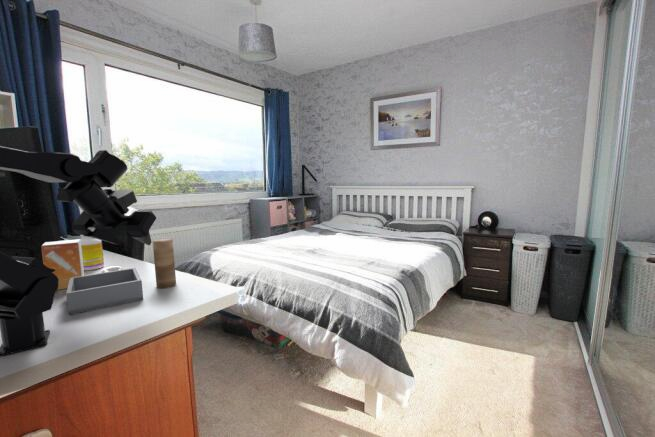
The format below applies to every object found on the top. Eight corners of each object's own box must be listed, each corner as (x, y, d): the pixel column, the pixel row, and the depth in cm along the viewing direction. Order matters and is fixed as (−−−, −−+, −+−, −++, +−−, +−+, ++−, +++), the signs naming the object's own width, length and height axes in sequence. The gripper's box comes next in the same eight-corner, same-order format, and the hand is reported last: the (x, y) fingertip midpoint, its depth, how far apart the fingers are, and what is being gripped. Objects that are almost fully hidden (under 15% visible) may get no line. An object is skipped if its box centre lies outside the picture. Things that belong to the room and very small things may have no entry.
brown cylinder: (177, 285, 90) (174, 240, 88) (158, 289, 87) (154, 243, 85) (174, 281, 94) (170, 238, 92) (155, 284, 91) (151, 240, 89)
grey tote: (143, 299, 80) (141, 280, 79) (68, 314, 71) (66, 293, 70) (136, 284, 91) (135, 267, 91) (72, 296, 83) (70, 277, 82)
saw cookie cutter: (130, 277, 101) (129, 272, 101) (111, 281, 97) (111, 276, 97) (117, 268, 110) (117, 264, 109) (100, 272, 106) (99, 267, 106)
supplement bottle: (107, 267, 111) (104, 231, 109) (85, 272, 105) (81, 234, 103) (99, 264, 114) (95, 229, 113) (77, 269, 109) (72, 232, 107)
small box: (46, 292, 86) (40, 245, 85) (50, 285, 91) (44, 241, 90) (83, 286, 91) (78, 241, 89) (85, 280, 96) (80, 238, 94)
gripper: (149, 177, 74) (179, 220, 86) (80, 178, 77) (119, 219, 89) (124, 212, 67) (161, 254, 79) (49, 211, 70) (95, 252, 81)
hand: (134, 243), depth 82 cm, fingers open, 9 cm apart
